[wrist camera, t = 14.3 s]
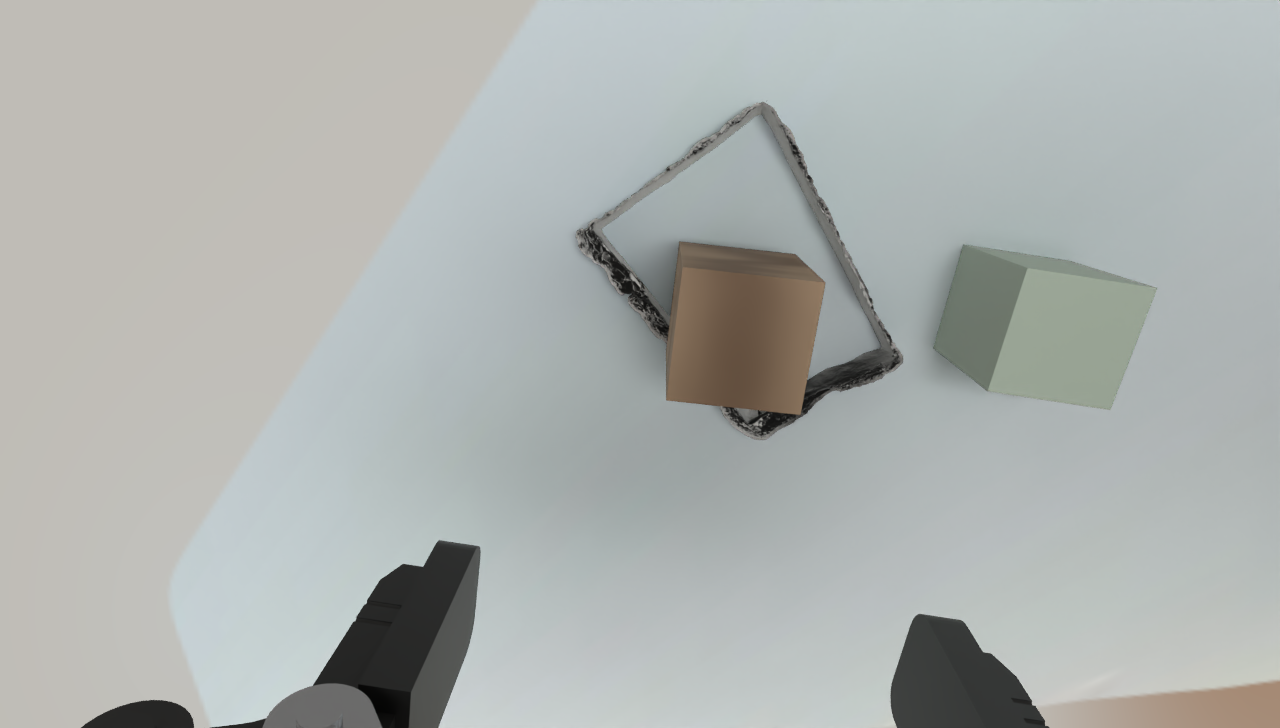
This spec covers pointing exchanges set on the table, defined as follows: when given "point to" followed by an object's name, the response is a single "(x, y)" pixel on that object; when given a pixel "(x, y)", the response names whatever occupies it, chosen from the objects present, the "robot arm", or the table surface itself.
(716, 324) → the walnut block
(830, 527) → the table surface
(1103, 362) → the sage block
